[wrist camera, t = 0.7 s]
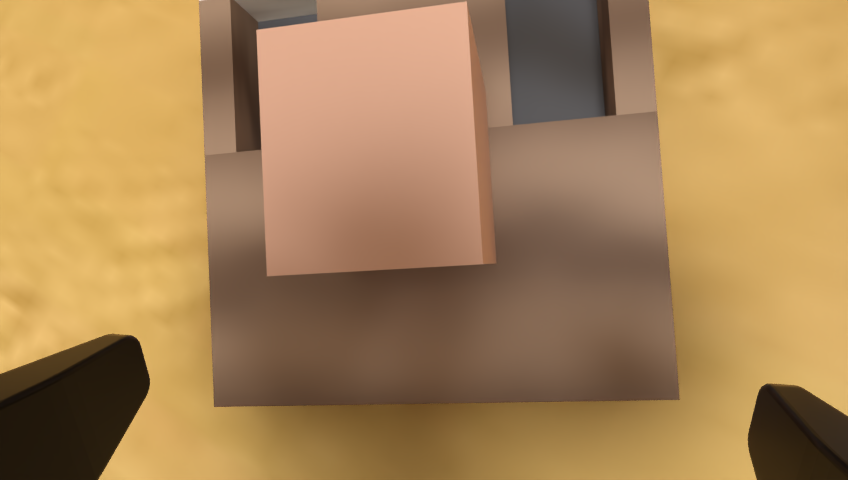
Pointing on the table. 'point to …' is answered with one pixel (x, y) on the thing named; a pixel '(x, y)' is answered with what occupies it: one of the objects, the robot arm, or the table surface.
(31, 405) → the robot arm
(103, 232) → the table surface
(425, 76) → the block
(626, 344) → the brown piece
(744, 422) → the table surface
